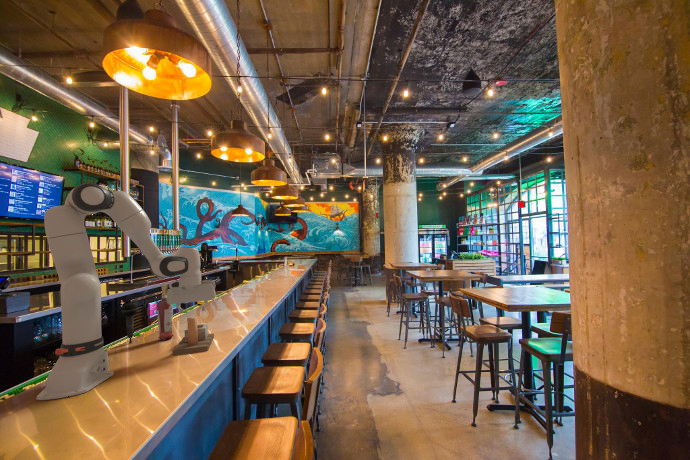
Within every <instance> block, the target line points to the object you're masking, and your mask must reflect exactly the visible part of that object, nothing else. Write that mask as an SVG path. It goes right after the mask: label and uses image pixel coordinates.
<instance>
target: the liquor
mask: <svg viewBox="0 0 690 460" xmlns="http://www.w3.org/2000/svg"><path fill="white" fill-rule="evenodd" d="M167 292H168V284H167V283H165V284H161V300H159V301H157V302H156V312H157V323H158V339H159V340H160V341H168V340H171V339H173V337H174V334H173V333H174V332H173V323H174V322H173V320H174V319H173V318H174V317H173V316H174V304H170V305H169V304H168V303H167Z"/></svg>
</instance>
